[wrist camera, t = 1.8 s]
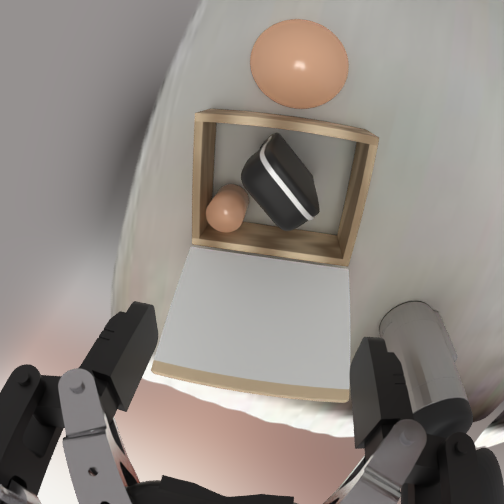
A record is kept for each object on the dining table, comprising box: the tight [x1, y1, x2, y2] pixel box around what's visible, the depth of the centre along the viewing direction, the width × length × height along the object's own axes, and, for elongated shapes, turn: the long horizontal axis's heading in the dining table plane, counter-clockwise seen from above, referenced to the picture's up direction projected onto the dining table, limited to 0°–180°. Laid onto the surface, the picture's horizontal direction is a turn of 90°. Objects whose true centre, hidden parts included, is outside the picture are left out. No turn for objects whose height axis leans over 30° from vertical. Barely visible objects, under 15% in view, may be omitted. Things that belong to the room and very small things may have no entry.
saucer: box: [250, 19, 348, 109], centre depth 27 cm, size 10×10×1 cm
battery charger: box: [241, 133, 319, 231], centre depth 28 cm, size 7×4×11 cm, turn 40°
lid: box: [151, 247, 350, 403], centre depth 28 cm, size 17×14×1 cm
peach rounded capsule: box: [206, 184, 249, 233], centre depth 34 cm, size 4×4×4 cm
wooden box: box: [192, 109, 379, 267], centre depth 31 cm, size 17×14×6 cm
